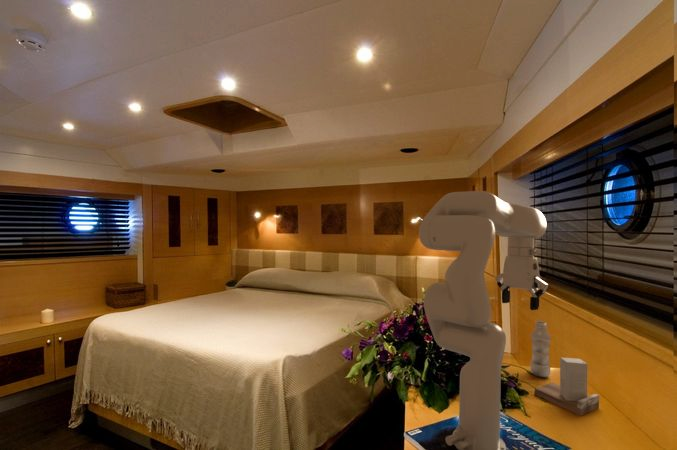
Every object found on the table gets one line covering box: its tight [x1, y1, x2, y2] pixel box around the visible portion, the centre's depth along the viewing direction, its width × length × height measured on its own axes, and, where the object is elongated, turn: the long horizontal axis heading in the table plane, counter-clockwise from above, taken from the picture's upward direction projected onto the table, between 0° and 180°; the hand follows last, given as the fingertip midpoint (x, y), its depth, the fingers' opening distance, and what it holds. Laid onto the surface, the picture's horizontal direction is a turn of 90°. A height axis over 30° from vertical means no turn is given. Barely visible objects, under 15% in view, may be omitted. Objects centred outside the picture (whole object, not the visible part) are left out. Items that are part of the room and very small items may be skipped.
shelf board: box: [534, 382, 600, 417], centre depth 108 cm, size 10×14×4 cm
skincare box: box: [559, 357, 588, 401], centre depth 106 cm, size 6×4×12 cm
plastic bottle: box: [529, 320, 552, 378], centre depth 127 cm, size 6×7×20 cm
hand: (519, 306), depth 108 cm, fingers open, 9 cm apart
